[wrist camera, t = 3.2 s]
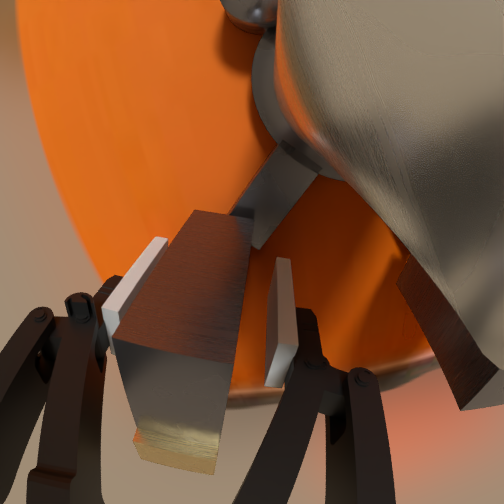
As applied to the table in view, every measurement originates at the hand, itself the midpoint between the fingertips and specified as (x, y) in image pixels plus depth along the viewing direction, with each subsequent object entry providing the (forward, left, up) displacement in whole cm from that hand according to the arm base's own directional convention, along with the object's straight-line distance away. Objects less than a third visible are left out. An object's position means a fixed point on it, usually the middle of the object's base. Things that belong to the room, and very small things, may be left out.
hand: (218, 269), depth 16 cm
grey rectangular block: (-14, 0, -1) cm, 14 cm away
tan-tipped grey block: (0, 0, -1) cm, 1 cm away
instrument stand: (-7, -9, -1) cm, 11 cm away
